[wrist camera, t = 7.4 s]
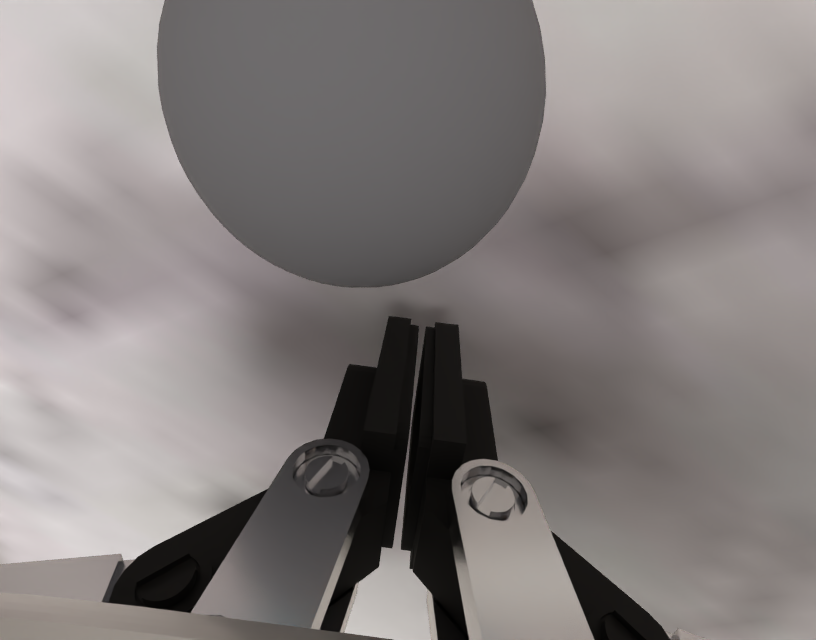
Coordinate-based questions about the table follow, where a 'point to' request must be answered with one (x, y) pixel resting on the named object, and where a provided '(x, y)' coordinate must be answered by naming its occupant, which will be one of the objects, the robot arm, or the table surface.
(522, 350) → the table surface
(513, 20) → the grey ball
